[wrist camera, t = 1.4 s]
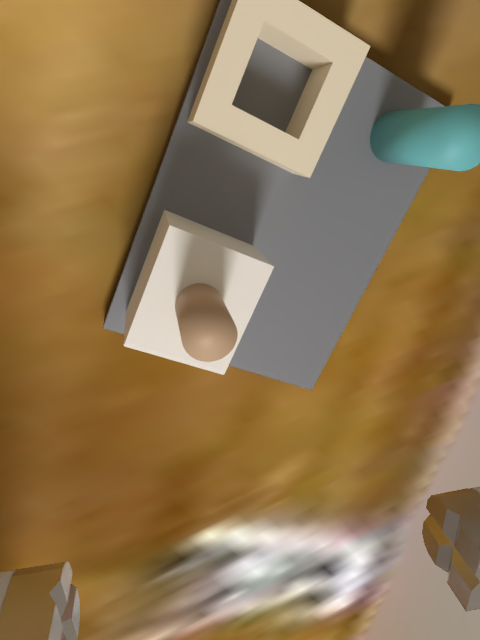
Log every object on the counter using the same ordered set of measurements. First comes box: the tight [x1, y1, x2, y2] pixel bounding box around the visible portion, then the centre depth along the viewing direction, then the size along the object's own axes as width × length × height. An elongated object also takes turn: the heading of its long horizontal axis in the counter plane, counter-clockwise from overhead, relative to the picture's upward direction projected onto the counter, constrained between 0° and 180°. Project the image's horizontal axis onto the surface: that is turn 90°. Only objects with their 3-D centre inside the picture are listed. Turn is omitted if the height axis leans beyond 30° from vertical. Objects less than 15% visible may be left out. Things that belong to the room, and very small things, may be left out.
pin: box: [370, 104, 480, 171], centre depth 25 cm, size 3×3×7 cm
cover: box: [124, 210, 274, 375], centre depth 24 cm, size 7×6×9 cm
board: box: [103, 0, 444, 390], centre depth 27 cm, size 21×16×4 cm
